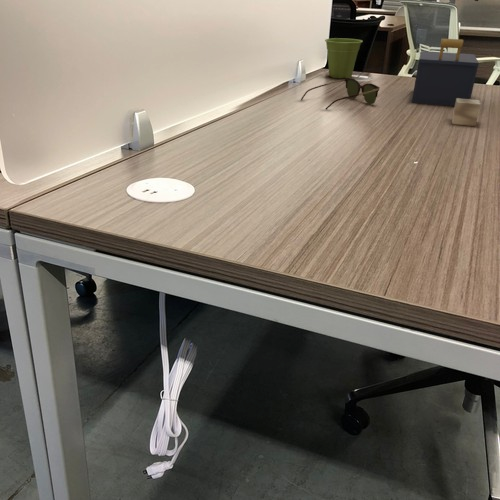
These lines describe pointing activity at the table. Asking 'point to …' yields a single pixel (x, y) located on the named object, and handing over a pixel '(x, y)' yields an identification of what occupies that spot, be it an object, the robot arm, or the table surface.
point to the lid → (449, 55)
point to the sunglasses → (355, 90)
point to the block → (466, 112)
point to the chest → (443, 83)
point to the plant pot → (342, 56)
